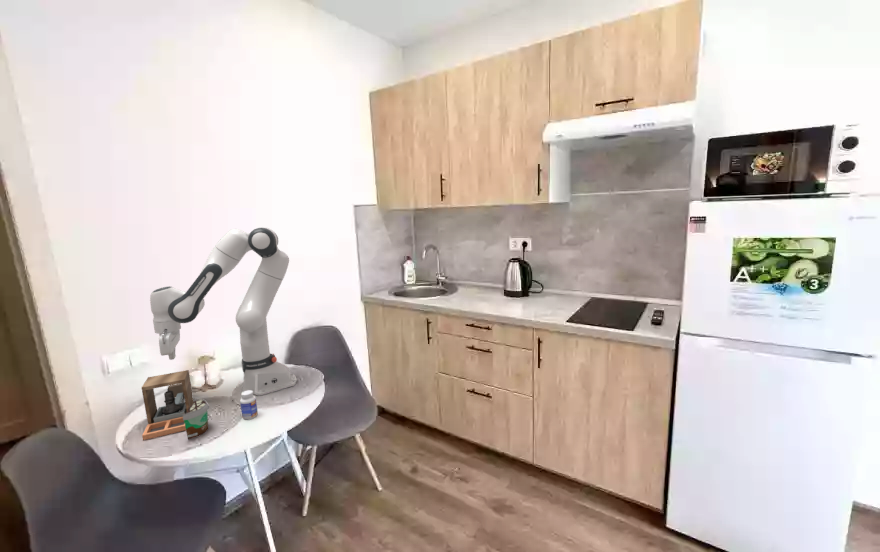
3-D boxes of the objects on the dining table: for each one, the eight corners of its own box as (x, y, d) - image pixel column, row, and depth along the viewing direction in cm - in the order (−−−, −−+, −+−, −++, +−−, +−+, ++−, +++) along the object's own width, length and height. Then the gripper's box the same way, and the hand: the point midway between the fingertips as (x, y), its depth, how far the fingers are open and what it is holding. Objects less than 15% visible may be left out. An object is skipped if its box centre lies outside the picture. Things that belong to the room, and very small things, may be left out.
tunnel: (194, 407, 155) (188, 369, 153) (191, 419, 147) (184, 379, 144) (155, 416, 150) (148, 377, 147) (148, 428, 141) (141, 387, 138)
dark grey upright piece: (172, 422, 145) (167, 392, 143) (159, 421, 146) (154, 391, 144) (185, 414, 150) (181, 385, 148) (173, 413, 152) (168, 384, 150)
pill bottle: (255, 418, 145) (252, 395, 143) (240, 420, 144) (236, 396, 142) (259, 411, 150) (256, 388, 149) (245, 413, 149) (241, 390, 148)
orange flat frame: (190, 419, 146) (190, 414, 146) (187, 430, 139) (186, 425, 139) (148, 429, 140) (147, 424, 140) (143, 440, 133) (142, 435, 133)
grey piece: (194, 391, 169) (192, 381, 168) (185, 419, 146) (183, 407, 145) (168, 397, 165) (166, 386, 164) (154, 426, 142) (152, 413, 141)
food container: (206, 438, 133) (202, 411, 132) (186, 441, 132) (182, 415, 130) (216, 420, 145) (212, 395, 143) (197, 423, 143) (193, 398, 142)
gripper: (172, 331, 149) (177, 365, 151) (180, 319, 167) (185, 349, 169) (152, 334, 146) (157, 368, 149) (163, 321, 164) (168, 352, 167)
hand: (172, 358), depth 159 cm, fingers closed
